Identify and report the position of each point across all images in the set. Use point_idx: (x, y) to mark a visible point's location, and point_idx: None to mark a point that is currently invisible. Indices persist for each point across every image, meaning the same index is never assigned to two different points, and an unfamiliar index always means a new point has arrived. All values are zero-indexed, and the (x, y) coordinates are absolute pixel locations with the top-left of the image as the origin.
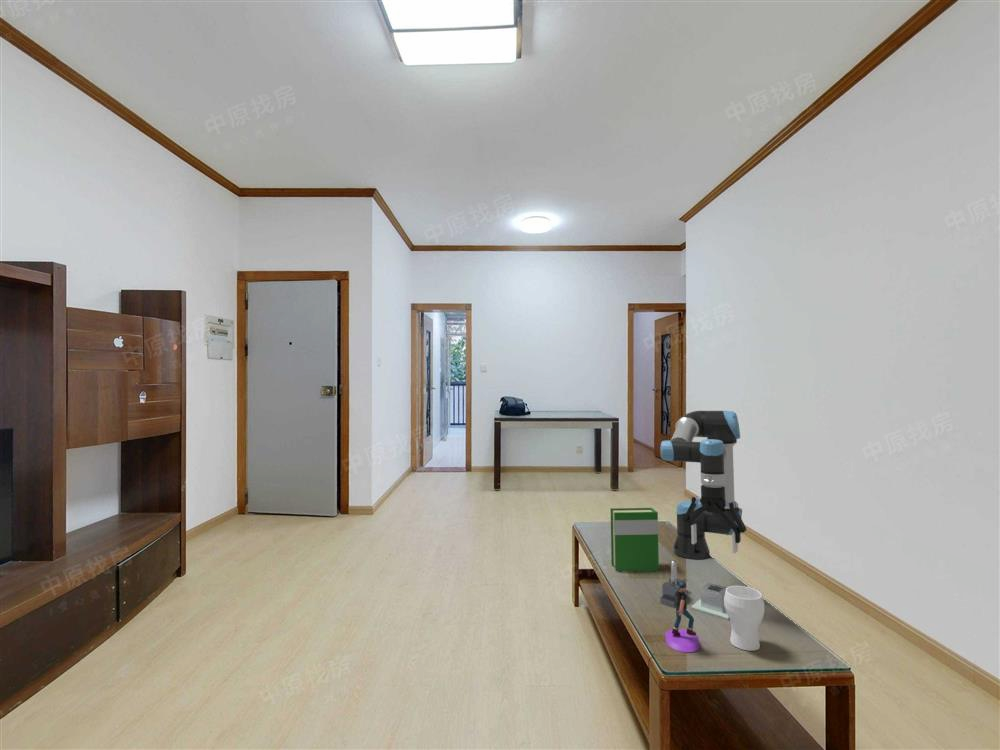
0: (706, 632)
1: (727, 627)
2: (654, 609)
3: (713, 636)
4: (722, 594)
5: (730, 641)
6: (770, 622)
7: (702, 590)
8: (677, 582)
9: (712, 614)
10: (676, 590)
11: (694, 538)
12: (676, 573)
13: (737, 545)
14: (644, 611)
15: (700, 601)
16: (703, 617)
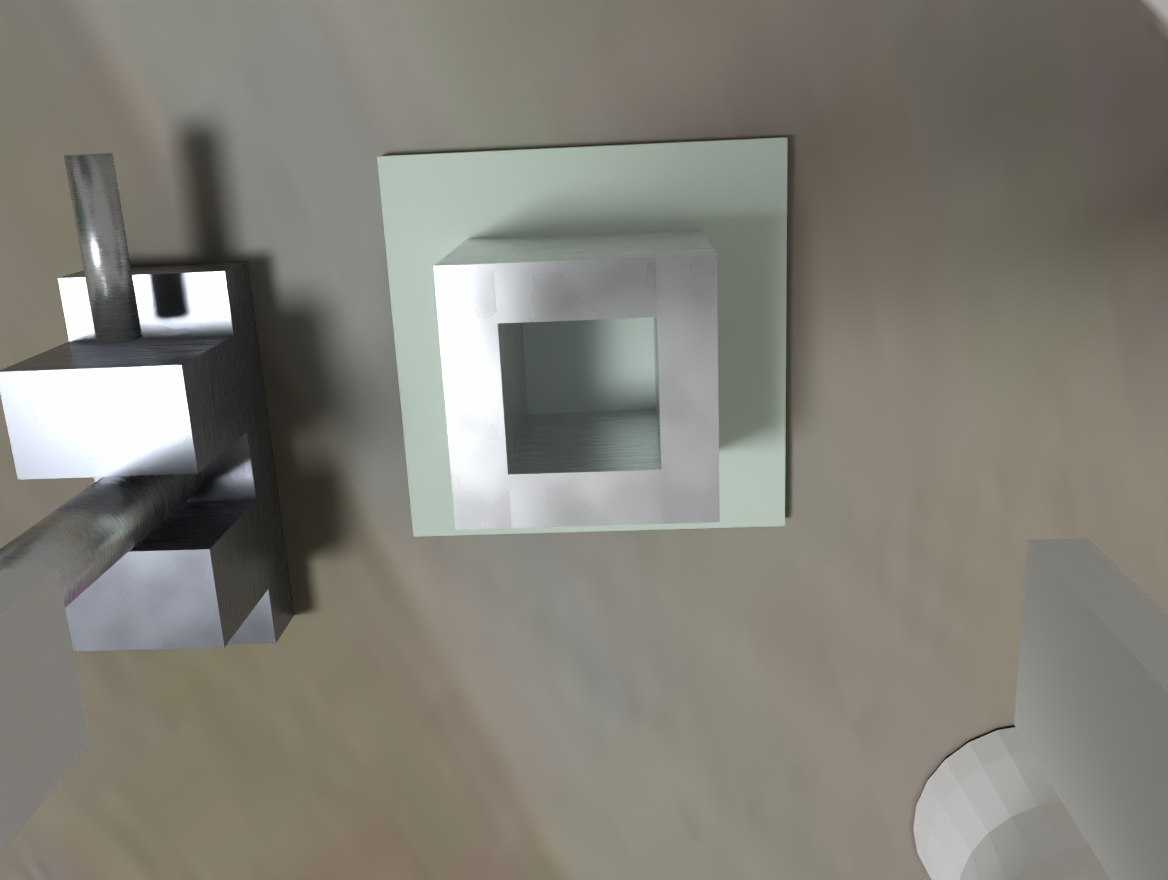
0: (717, 843)
1: (825, 653)
2: (190, 762)
3: (785, 865)
4: (718, 504)
5: (923, 864)
6: (1133, 276)
7: (480, 525)
8: (135, 475)
9: (633, 526)
10: (233, 626)
11: (12, 771)
12: (91, 570)
13: (1156, 621)
14: (156, 848)
15: (422, 345)
16: (586, 616)
